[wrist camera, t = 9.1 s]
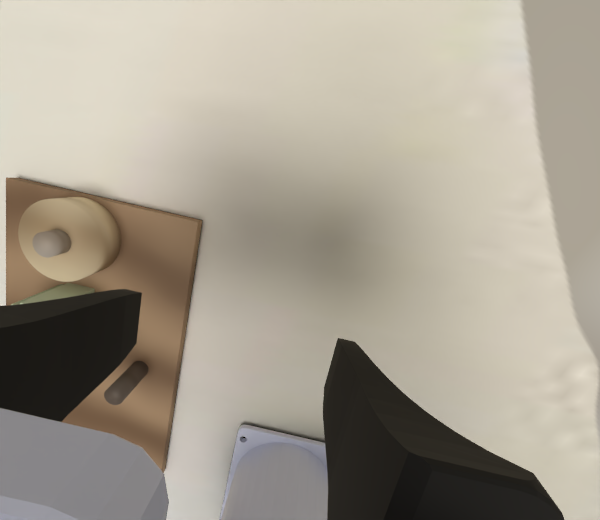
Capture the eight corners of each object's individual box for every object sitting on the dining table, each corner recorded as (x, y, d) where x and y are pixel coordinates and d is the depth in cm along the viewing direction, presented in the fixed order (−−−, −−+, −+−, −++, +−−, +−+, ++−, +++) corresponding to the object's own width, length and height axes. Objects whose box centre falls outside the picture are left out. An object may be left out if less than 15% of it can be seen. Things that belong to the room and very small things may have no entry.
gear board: (165, 469, 26) (126, 542, 21) (15, 435, 26) (-60, 498, 21) (202, 220, 21) (164, 234, 16) (17, 177, 21) (-81, 177, 16)
